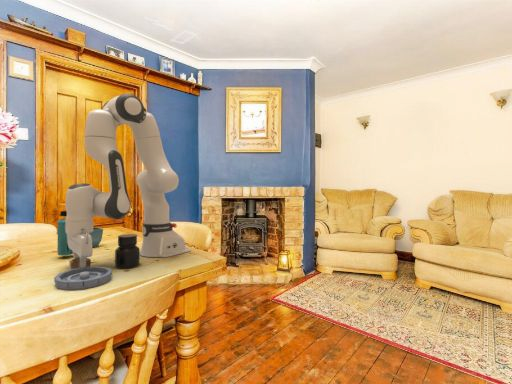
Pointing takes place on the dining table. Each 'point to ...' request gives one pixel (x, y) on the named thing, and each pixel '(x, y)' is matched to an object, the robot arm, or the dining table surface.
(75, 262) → the bead loop
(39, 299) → the dining table surface
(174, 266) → the dining table surface
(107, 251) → the dining table surface
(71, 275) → the groove tray
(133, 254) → the ink bottle
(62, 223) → the beverage bottle
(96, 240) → the flower pot
